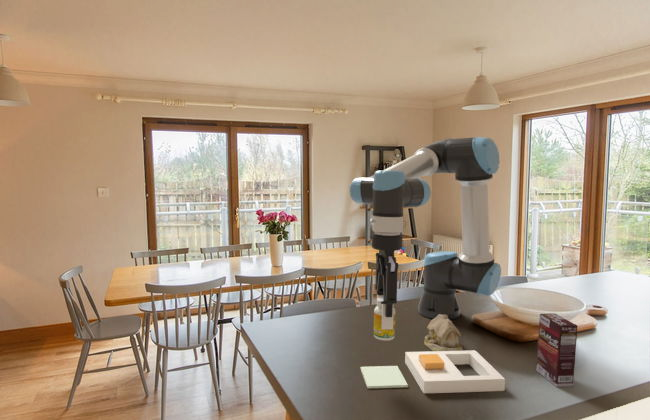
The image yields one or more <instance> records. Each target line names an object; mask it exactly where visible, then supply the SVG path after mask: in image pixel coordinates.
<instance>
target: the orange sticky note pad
mask: <svg viewBox="0 0 650 420" xmlns="http://www.w3.org/2000/svg"><path fill="white" fill-rule="evenodd" d="M419 361H420V363H421V364H422V366H423V367H424V368H425V369H444V364H445V363H444V362H443V360H442V359H441V358H440V357H439V355H438V354H419Z"/></svg>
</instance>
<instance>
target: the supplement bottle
mask: <svg viewBox="0 0 650 420" xmlns="http://www.w3.org/2000/svg"><path fill="white" fill-rule="evenodd" d="M383 300H384V298H378V299H377V298H376V306H375V308H374V310H373V337H374V338H375V339H377V340H379V341H392V340H394V338H395V336H396V334H395V333H396V309H395V308H394V316H393V329H382V304H381V301H383ZM377 305H378V306H377Z"/></svg>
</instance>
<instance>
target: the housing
mask: <svg viewBox="0 0 650 420" xmlns="http://www.w3.org/2000/svg"><path fill="white" fill-rule="evenodd" d="M404 353H405V354H404V355H405V356H404V358H405V359H404V363H405V365H406V367H407V368H408V370H409V371H410V373H411V375H412V377H413V378H414V380H415V381H416V383H417V385H418V386H419V388H420V390H421V391H422V393H423V394H443V393H444V394H447V393H448V394H450V393H452V394H453V393H477V392H478V393H479V392H480V393H481V392H484V393H485V392H505V389H506V388H505V387H506V386H505V385H506V378H505V377H503V375H502V374H501V373H499V371H498V370H497V369H495V368H494V367H493V365H491V364H490V363H489V362H488V361H487V360H486V359H485V358H484V357H483V356H482V355H481V354H480V353H479V352H478V351H476V350H474V349H473V350H463V351H432V350H430V351H405V352H404ZM419 354H438V355H439V357H440V358H441V359H442V360H443V362H444V363H445V364H444V369H425V368H424V367H423V366H422V364H421V363H420V361H419ZM455 365H456V366H455ZM457 365H469V366H470V367H471V368H472V369H473V370H474V371H475V372H476V373H477V374H478V375H463V373H462V372H461V371H460V370H459V369H458V368H457Z"/></svg>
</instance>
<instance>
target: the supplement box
mask: <svg viewBox="0 0 650 420" xmlns="http://www.w3.org/2000/svg"><path fill="white" fill-rule="evenodd" d="M538 320H539V321H538V322H539V324H538V325H539V326H538V339H537V355H536V369H535V370H536V372H538V373H539V374H540V375H541V376H543V377H544V378H545V379H546V380H548V381H549V382H550V383H551V384H553V386H554V387H556V388H561V387H563V388H565V387H573V386H574V377H575V363H576V350H577V349H576V348H577V338H578V324H576V323H573V322H572V321H569V320H567V319H566V318H564V317H563V316H560V315H558V314H557V313H555V312H554V313H552V312H551V313H539V319H538Z"/></svg>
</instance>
